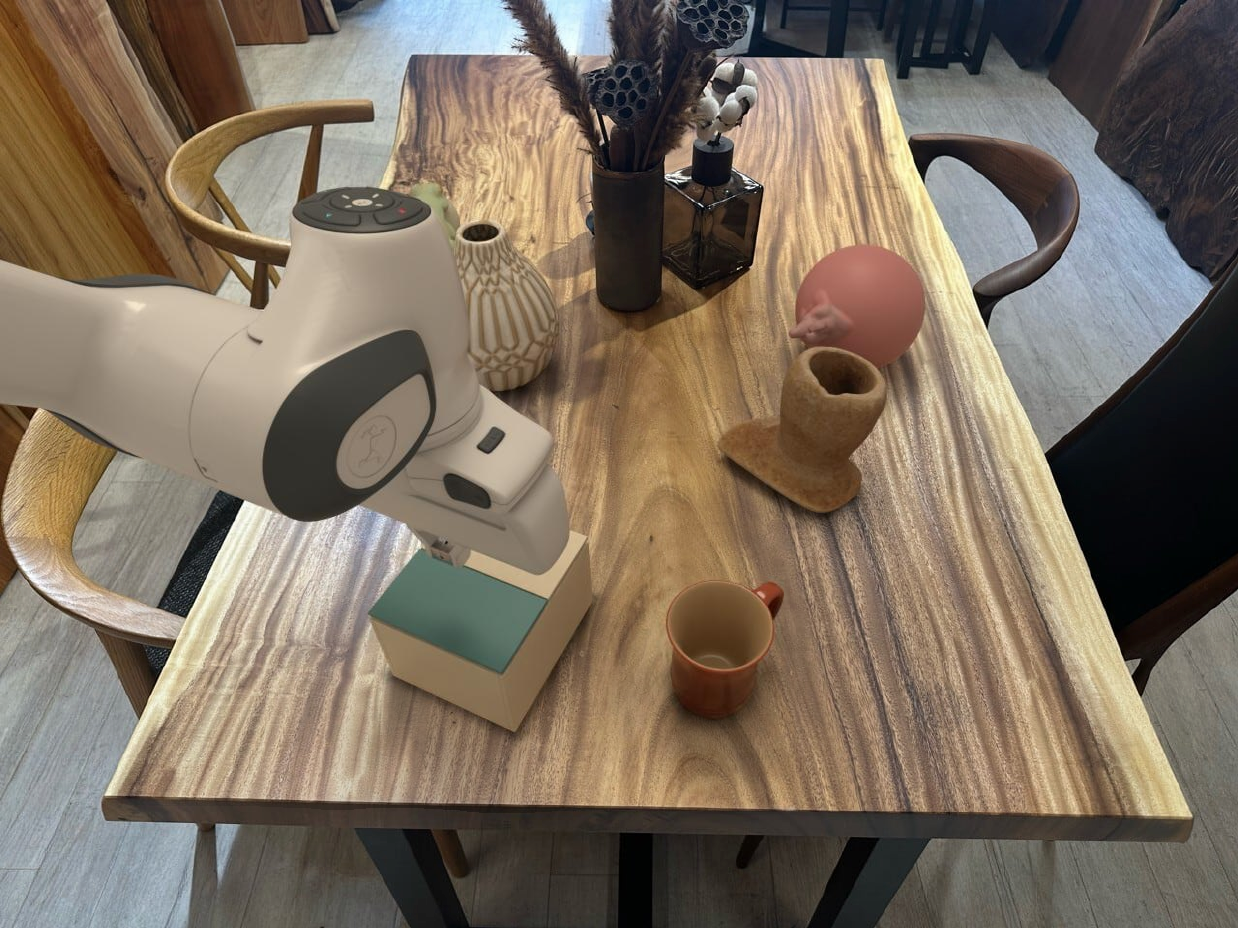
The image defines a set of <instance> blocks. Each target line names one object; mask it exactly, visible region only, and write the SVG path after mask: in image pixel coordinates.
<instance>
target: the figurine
mask: <svg viewBox="0 0 1238 928" xmlns="http://www.w3.org/2000/svg"><path fill="white" fill-rule="evenodd" d="M410 192H411V196H412V197H415V198H418V199H420V200H421V201H422V202H424V203H426V204H428V205H429V206H431V208H432V209H433V210H434V211H435V213H436V214H437V215H438V217H439V218H440V220H441V222H442V224H443V226H444V228H445V230H446V233H447V235H448V238H449V240H450V243H451V246H452V249H453V247H454V242H455V236H456V232H457V230H458V228H459V227H460V226H461V218H460V215H459V213H458V210H457V208H456V207H455V206H454V205H453V203H452V202H451V201H450V200H449V199H448V198H447V197H446V196H445V193H444V189H443V186H440V184H438V183H436V182H427V183H423V184H422V185H421V184H420V183H415V184H414V185H413V186H412V187H411V191H410Z"/></svg>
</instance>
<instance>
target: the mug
mask: <svg viewBox="0 0 1238 928" xmlns="http://www.w3.org/2000/svg"><path fill="white" fill-rule="evenodd" d="M784 598H785V591H784V589H782V587H781V586H779V585H778V584H777V583H775V582H774V581H767V582H764V583H763V584H761V585H759V586H758V587H757V588H754V589H749V587H746V586H745V585H742V584H740V583H739V582H738V583H737V582H734V581H728V580H720V579H711V580H704V581H700V582H696V583H694V584H692V585H689V586H687V587H686V588H684V589H683V590H682V591H680V592H679V593H678V594H677V595H676V596H675V597H674V599H673V600H672V602H671V603H670V605H669V608H668V610H667V612H666V613H667V614H666V619H665V627H666V633H667V637H668V640H669V642H670V644H671V646H672V652H671V661H670V668H669V675H670V680H671V684H672V689H673V691H674V694H675V696H676V698H677V700H678V701H679V702H680V704H681V705H682V706H683V707H684V708H685V709H686V710H687V711H689V712H690V713H692V714H694V715H696V716H698V717H701V718H706V719H713V720H714V719H723V718H727V717H729V716H731V715H732V716H733V714H736V713H737V712H738V711H739V710H741V708H742V707H743V706H744V705H745V704H746V702H747V701H748V699H749V698H750V696H751V695H752V693H753V690H754V688H755V684H756V677H757V673H758V666H759V663H760V662H761V661H762V660H763V659H764V658H765V656H767V654H768V652H769V650H770V649H771V646H772V644H773V641H774V636H775V624H774V621H775V619H776V617H777V616H778V614H779V611H780V610H781V608H782V605H783V602H784Z"/></svg>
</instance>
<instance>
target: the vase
mask: <svg viewBox="0 0 1238 928" xmlns="http://www.w3.org/2000/svg"><path fill="white" fill-rule="evenodd" d="M453 252H454V255H455V258H456V262H457V266H458V269H459V273H460V278H461V282H462V287H463V291H464V297H465V302H466V307H467V313H468V320H469V326H470V337H469V343H468V348H467V352H468V356H469V359H470V360H471V362H472V364H473V366H474V368H475V370H476V373H477V376H478V379H479V384H480V385H482V386H484V387H485V388H487V389H488V390H489V391H490V392H504V391H505V392H506V391H511V390H514V389H518V388H520V387H522V386H525V385H527V384H528V383H530V382H531V381H533V380H534V379H535V378H537V377H539V375H540V374H541V373H542V372H543V371H544V370H545V369H546V367H547V366H548V364H549V363H550V361H551V359H552V357H553V355H554V353H555V350H556V347H557V344H558V341H559V340H558V339H559V332H560V316H559V315H560V314H559V310H558V307H557V303H556V301H555V298H554V294H553V293H552V290H551V288H550V286H549V284H548V282H547V280H546V279H545V277H544V275H543V274H542V273H541V272H540V270H539V269H538V268H537V267H536V265H534V263H532V261H531V260H530V259H529V258H528V257H527V256H525V254H523V252H521V251H520V250H519V249H518V248H517V247H516V246H515V244H513V242H512V240H511V238H510V237H509V234H508V232H507V230H506V228H505V227H504V225H503V224H502V223H500V222H498V221H496V220H492V219H489V218H487V219H486V218H481V219H474V220H469V221H467V222H465V223H463V224H461V225H460V227H459V228H458V230H457V232H456V236H455V242H454V247H453Z"/></svg>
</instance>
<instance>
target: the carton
mask: <svg viewBox="0 0 1238 928" xmlns="http://www.w3.org/2000/svg"><path fill="white" fill-rule="evenodd" d="M569 530H570V534H569V540H568V543H567V545H566V547H565V549H564V551H563V553H562V554H561V556H560V557H559V559H558V560H557V562H556V563H555V564H554V566H553V567H552V568H551V569H550V570H549V571H547V572H546V573H544V574H542V575H533V574H531V573H528V572H526V571H524V570H521V569H519V568H516V567H514V566H511V565H509V564H506V563H503V562H501V561H498V560H496V559H493V558H491V557H488V556H486V555H483V554H481V553H478V552H476V551H473V550H471V555H470V557H469V559H468V560H467V562H466V563H465V564H464V566H463V567H466V568H468V569H470V570H473V571H475V572H478V573H480V574H483V575H485V576H488V577H490V578H493V579H495V580H498V581H500V582H503V583H505V584H508V585H510V586H513V587H515V588H517V589H520V590H522V591H525V592H527V593H530V594H532V595H535V596H537V597H540V598H542V599H545V600H547V604H546V606H545V608H544V609H543V611H542V612H541V614H540V615H539V617H538V619H537V620H536V622H535V623H534V625H533V627H532V628H531V630H530V631H529V633H528V634H527V636H526V638H525V639H524V641H523V642H522V644H521V645H520V647H519V649H518V650H517V652H516V653H515V655H514V656H513V658H512V660H511V661H510V663H509V664H508V666H507V668H506V669H505V671H504V672H503V674H500V673H498V672H495V671H493V670H491V669H489V668H486V667H484V666H482V665H480V664H477V663H475V662H473V661H471V660H468V659H466V658H464V657H462V656H459V655H457V654H455V653H453V652H450V651H448V650H446V649H444V648H441V647H439V646H437V645H435V644H432V643H430V642H428V641H426V640H423V639H421V638H419V637H417V636H415V635H412V634H410V633H408V632H406V631H403V630H401V629H399V628H397V627H394V626H392V625H390V624H388V623H385V622H383V621H381V620H379V619H376V618H374V617H372V616H369V619H368V620H369V623H370V625H371V627H372V629H373V631H374V634H375V636H376V639H377V641H378V643H379V646H380V648H381V651H382V653H383V655H384V657H385V660H386V663H387V665H388V667H389V670H390V672H391V674H392V676H394V678H398V679H399V680H402V681H403V682H406V683H408V684H410V685H412V686H415V687H417V688H419V689H421V690H423V691H426V692H427V693H430V694H431V695H433V696H436V697H438V698H440V699H442V700H445V701H447V702H449V703H451V704H453V705H455V706H457V707H460V708H462V709H464V710H466V711H468V712H470V713H473V714H475V715H477V716H478V717H480V718H483V719H484V720H487V721H490V722H492V723H494V724H496V725H498V726H501V727H502V728H505V729H507V730H509V731H511V732H513V733H516V732H517V731H518V729H519V727H520V725H521V724H522V722H523V720H524V718H525V717H526V716H527V714H528V712H529V710H530V708H531V707H532V705H533V703H534V702H535V700H536V698H537V696H538V695H539V693H540V691H541V690H542V688H543V686H544V685H545V683H546V681H547V679H548V678H549V676H550V674H551V673H552V671H553V669H554V667H555V666H556V664H557V662H558V661H559V659H560V657H561V656H562V654H563V652H564V651H565V649H566V647H567V646H568V644H569V642H570V640H571V639H572V637H573V636H574V634H575V632H576V630H577V628H578V627H579V625H580V623H581V622H582V620H583V618H584V617H585V615H586V614H587V612H588V610H589V608H590V607H591V605H592V603H593V590H592V589H593V588H592V570H591V556H590V555H591V554H590V553H591V552H590V542H589V541H588V540H589V537H588V536H587V535H585V534H582V533H579V532H577V531H574V530H572V529H569ZM420 549H421V550H424V551H426V549H425V546H424V544H422V545H421V546H420Z"/></svg>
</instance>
